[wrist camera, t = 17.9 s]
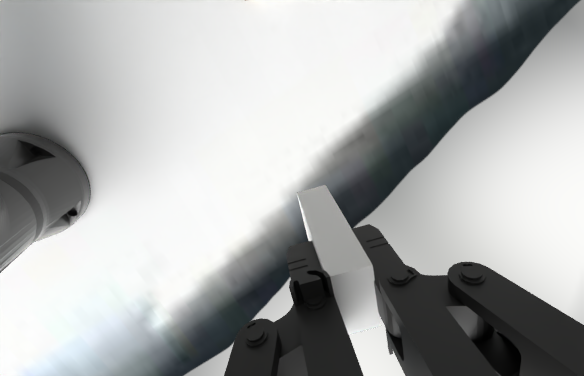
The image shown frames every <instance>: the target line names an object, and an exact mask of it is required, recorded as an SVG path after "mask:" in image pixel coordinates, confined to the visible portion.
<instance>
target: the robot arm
mask: <svg viewBox="0 0 584 376" xmlns="http://www.w3.org/2000/svg"><path fill="white" fill-rule="evenodd" d="M297 196H298V200H299V204H300V208H301V212H302V216H303V220H304V224H305V229H306V233H307V237H308V240H309V241H308V242H304V243H301V244H297V245H293V246H290V247H289V249H288V252H287V254H286V257H287V262H288V267H289V272H290V277H291V281H290V285H289V288H290V292H291V295H292V298H293V302H294V304H293V306H292V308H291V310H290V311H289V312H288V313H287V314H286V315H285V316H283V317H282V318H280V319H279V320H277V321H275V322H272V321H270V320H268V319H256V320H252V321H251V322H249V323H247V324H245V325H244V326H243V327H242V328H241V329H240V330H239V332H238V334H237V336H236V338H235V341H234V345H233V348H232V352H231V355H230V358H229V362H228V365H227V368H226V371H225V375H224V376H363V373H362V371H361V368H360V365H359V362H358V359H357V357H356V354H355V351H354V348H353V346H352V343H351V340H350V338H349V335H351V334H354V333H358V332H361V331H365V330H369V329H372V328H376V327H380V326H381V319H382V321H383V323H384V324H385V327H386V334H387V341H388V349H389V353H390V354H393V351H394V353H395V355H396V357H397V359H398V361H399V363H400V365H401V367H402V370H403V371H404V373H405V375H406V376H584V325H583V324H581V323H579V322H578V321H576V320H574V319H573V318H571V317H569V316H567V315H566V314H564V313H562V312H561V311H559V310H558V309H556V308H554V307H553V306H551V305H549V304H548V303H546V302H544V301H543V300H541V299H539V298H538V297H536V296H534V295H533V294H531V293H530V292H528V291H526V290H525V289H523V288H521V287H520V286H518V285H516V284H515V283H513V282H511V281H510V280H508V279H506V278H505V277H503V276H501V275H500V274H498V273H496V272H495V271H493V270H491V269H490V268H488V267H486V266H483V265H481V264H478V263H473V262H461V263H457V264H454V265H453V266H452V267H451V268H449V271H448V275H442V276H428V275H422V274H420V273H419V272H418V271H416V270H415V269H414V268H412V267H409V266H406V265H405V264H404V263H403V262H402V260H401V259H400V258H399V257H398V255H397V254H396V252H395V251H394V250H393V248H392V247H391V246H390V244H388V242H387V240H386V239H385V238H384V236H383V235H382V233H381V232H380V231H379V230H378V229H377V228H375V227H373V226H371V225H365V226H361V227H357V228H353V229H351V228H350V226H349V224H348V222H347V221H346V219H345V217H344V216H343V214H342V212H341V211H340V209H339V207H338V205H337V204H336V202H335V200H334V199H333V197H332V195H331V194H330V192H329V190H328V189H327V187H326V185H324V186H320V187H316V188H313V189H309V190H305V191H301V192H297ZM89 200H90V186H89V182H88V178H87V176H86V174H85V172H84V170H83V168H82V167H81V165H80V164H79V163H78V161H77V160H76V159H75V158H74V157H73V156H72V155H71V154H70V153H69V152H68V151H66V150H65V149H64V148H62V147H61V146H59V145H58V144H56V143H54V142H52V141H50V140H48V139H45V138H43V137H40V136H36V135H32V134H27V133H6V134H1V135H0V273H1V272H2V271H3V270H4V269H5V268H6V267H7V266H8V265H9V264H10V263H11V262H12V261H14V260H15V259H16V258H17V257H18V256H19V255H20V254H21V253H22V252H23V251H24V250H25V249H26V248H27V247H29V246H30V245H31V244H32V243H33V242H36V241H39V240H41V239H44V238H47V237H50V236H52V235H55V234H58V233H60V232H62V231H64V230H66V229H67V228H69V227H70V226H71V225H73V224H74V223H75V222H76V221H77V220H78V219H79V218H80V217H81V216H82V215H83V213H84V212H85V210H86V209H87V206H88V204H89ZM380 317H381V319H380ZM392 349H393V350H392Z"/></svg>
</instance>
